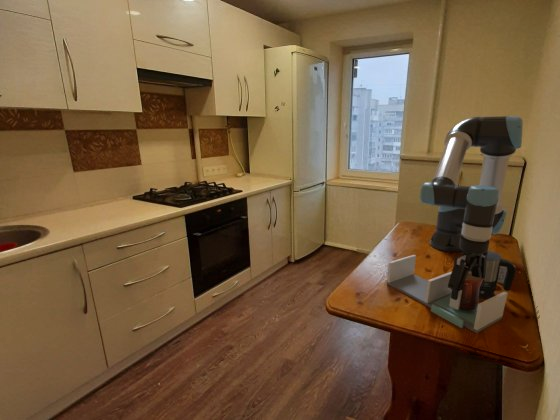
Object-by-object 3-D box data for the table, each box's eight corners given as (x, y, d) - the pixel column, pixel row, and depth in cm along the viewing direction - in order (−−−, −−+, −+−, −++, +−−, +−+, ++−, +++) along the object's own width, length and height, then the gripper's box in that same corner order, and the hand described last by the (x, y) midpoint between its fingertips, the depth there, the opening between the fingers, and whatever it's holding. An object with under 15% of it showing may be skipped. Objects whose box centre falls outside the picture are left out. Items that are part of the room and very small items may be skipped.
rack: (411, 275, 123) (413, 254, 120) (501, 318, 95) (507, 293, 93) (383, 284, 115) (386, 263, 113) (473, 335, 88) (478, 307, 85)
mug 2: (510, 286, 115) (514, 270, 113) (489, 280, 119) (492, 264, 118) (514, 277, 122) (518, 261, 120) (495, 271, 126) (498, 256, 125)
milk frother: (471, 298, 107) (478, 258, 103) (451, 276, 122) (457, 241, 118) (514, 300, 106) (523, 260, 102) (488, 278, 121) (496, 243, 117)
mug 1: (448, 299, 104) (450, 269, 103) (478, 304, 100) (481, 274, 99) (449, 313, 93) (452, 280, 92) (483, 319, 90) (487, 286, 88)
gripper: (482, 228, 101) (470, 289, 106) (441, 239, 90) (430, 306, 96) (507, 235, 94) (493, 299, 100) (466, 248, 84) (454, 319, 90)
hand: (463, 303), depth 98 cm, fingers open, 9 cm apart
